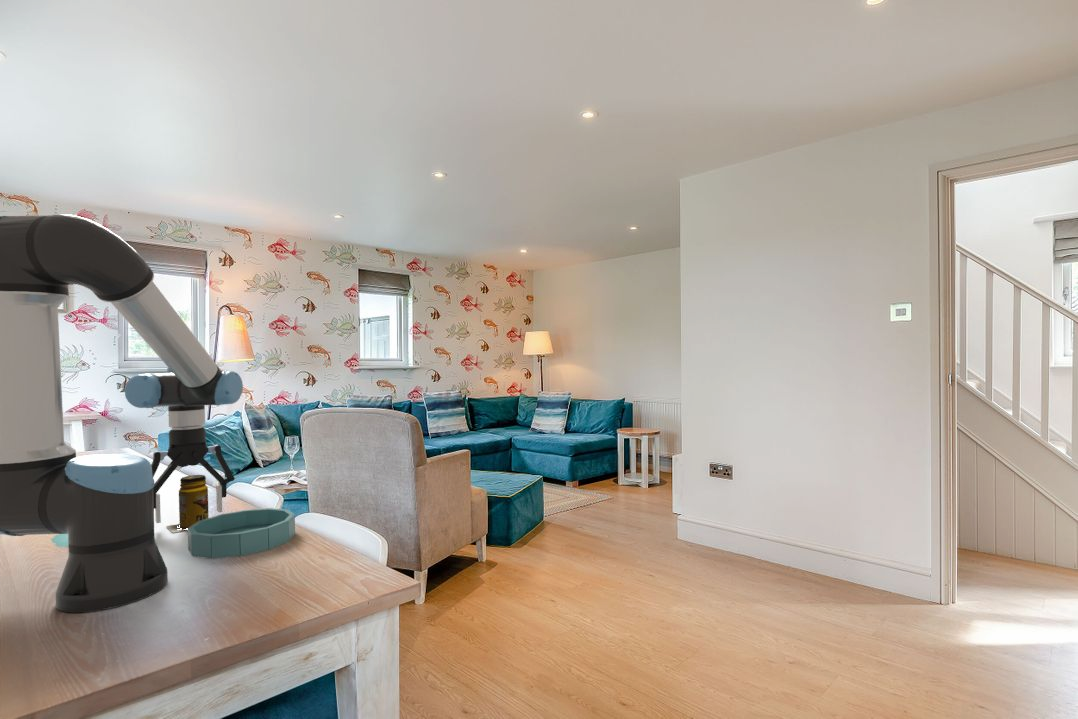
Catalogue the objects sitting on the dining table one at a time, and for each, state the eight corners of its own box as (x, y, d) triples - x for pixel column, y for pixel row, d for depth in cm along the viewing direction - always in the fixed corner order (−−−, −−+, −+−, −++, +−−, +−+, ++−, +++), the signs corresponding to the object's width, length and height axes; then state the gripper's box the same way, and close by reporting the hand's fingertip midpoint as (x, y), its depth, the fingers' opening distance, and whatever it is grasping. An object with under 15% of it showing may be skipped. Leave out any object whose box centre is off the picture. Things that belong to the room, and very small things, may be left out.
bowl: (305, 541, 119) (304, 520, 119) (198, 565, 106) (197, 542, 106) (279, 522, 134) (279, 503, 134) (183, 541, 121) (182, 521, 121)
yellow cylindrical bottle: (213, 525, 134) (212, 476, 134) (172, 533, 128) (171, 482, 128) (206, 519, 139) (204, 472, 139) (166, 527, 133) (164, 478, 133)
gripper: (239, 421, 144) (241, 503, 144) (124, 431, 128) (126, 523, 128) (246, 423, 138) (248, 509, 138) (126, 434, 123) (128, 530, 123)
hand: (189, 516), depth 133 cm, fingers open, 12 cm apart
